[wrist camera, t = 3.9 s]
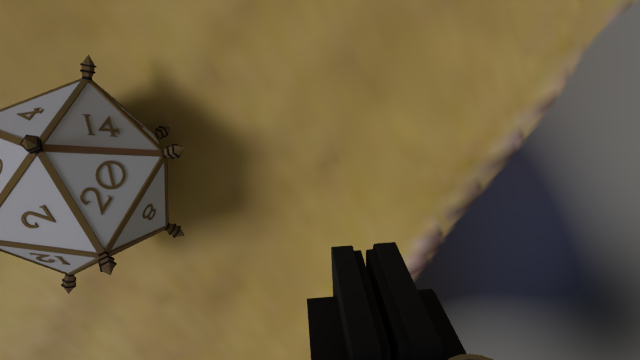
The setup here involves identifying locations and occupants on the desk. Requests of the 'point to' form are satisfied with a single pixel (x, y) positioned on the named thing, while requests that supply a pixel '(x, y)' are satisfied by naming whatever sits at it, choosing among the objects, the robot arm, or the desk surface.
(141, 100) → the desk surface
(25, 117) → the game die
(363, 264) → the robot arm
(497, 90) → the desk surface
